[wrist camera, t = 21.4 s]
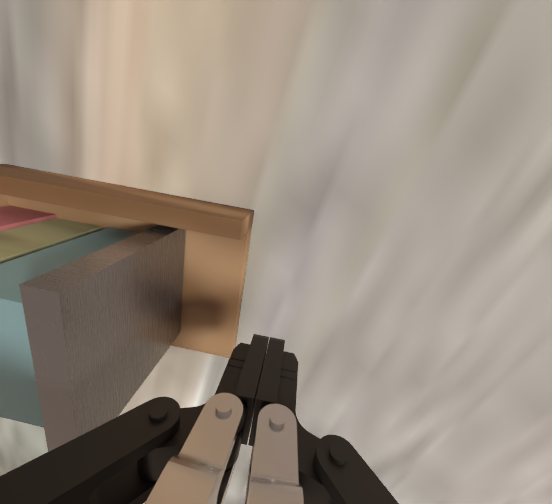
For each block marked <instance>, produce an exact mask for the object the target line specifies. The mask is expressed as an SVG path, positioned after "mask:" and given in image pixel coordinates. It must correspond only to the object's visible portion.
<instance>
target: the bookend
mask: <svg viewBox="0 0 552 504" xmlns="http://www.w3.org/2000/svg"><path fill="white" fill-rule="evenodd" d="M185 236H186V230H185V229H179V228H174V227H169V226H164V225H156V226H154V227H152V228H149V229H147V230H145V231H142V232H140V233H138V234H135V235H133V236H131V237H128V238H126V239H124V240H121V241H119V242H117V243H114V244H112V245H110V246H107V247H105V248H103V249H100V250H98V251H96V252H93V253H91V254H89V255H86V256H84V257H82V258H79V259H77V260H75V261H72V262H70V263H68V264H65V265H63V266H61V267H58V268H56V269H54V270H51V271H49V272H47V273H44V274H42V275H40V276H37V277H35V278H33V279H30V280H28V281H26V282H23V283H21V284H19V287H20V293H21V298H22V304H23V310H24V315H25V321H26V327H27V333H28V338H29V344H30V350H31V355H32V361H33V367H34V372H35V378H36V384H37V390H38V395H39V401H40V407H41V412H42V418H43V424H44V429H45V435H46V441H47V447H48V452H49V451H51V450H53V449H55V448H57V447H59V446H61V445H63V444H65V443H67V442H69V441H71V440H73V439H75V438H77V437H79V436H81V435H83V434H85V433H87V432H89V431H91V430H93V429H95V428H96V427H98V426H100V425H102V424H104V423H106V422H108V421H110V420H112V419H114V418H116V417H118V415H119V414H120V413H121V411H122V410H123V409H124V407H125V406H126V405H127V403H128V402H129V401H130V399H131V398H132V397H133V395H134V394H135V393H136V391H137V390H138V389H139V387H140V386H141V385H142V383H143V382H144V381H145V379H146V378H147V377H148V375H149V374H150V372H151V371H152V370H153V368H154V367H155V366H156V364H157V363H158V362H159V360H160V359H161V358H162V356H163V355H164V354H165V352H166V351H167V350H168V348H169V347H170V346H171V344H172V343H173V342H174V340H175V339H176V338H177V336H178V335H179V334H180V331H181V312H182V293H183V274H184V255H185Z"/></svg>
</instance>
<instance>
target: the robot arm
mask: <svg viewBox="0 0 552 504" xmlns="http://www.w3.org/2000/svg"><path fill="white" fill-rule="evenodd" d="M268 339H269V337H266V336H261V335H256V334H254V335H253V338H252V341H251V344H250V345H249V344H244V343H240V344H239V345H238V346H236V347H235V348H234V349H233V351H232V354H231V356H230V359H229V361H228V364H227V366H226V369H225V371H224V374H223V376H222V378H221V381H220V383H219V386H218V388H217V391H216V393H215V395H214V396H212V397H211V398H209V400H208V401H207V402H206V403H205V404H203V405H201V406H197V407H190V408H180V406H179V404H178V403H177V401H175V400H174V399H172V398H169V397H158V398H154V399H152V400H150V401H148V402H146V403H144V404H142V405H140V406H138V407H136V408H134V409H132V410H130V411H128V412H126V413H124V414H122V415H120V416H118V417H116V418H114V419H112V420H110V421H108V422H106V423H104V424H102V425H100V426H98V427H96V428H95V429H93V430H91V431H89V432H87V433H85V434H83V435H81V436H79V437H77V438H75V439H73V440H71V441H69V442H67V443H65V444H63V445H61V446H59V447H57V448H55V449H53V450H51V451H49V452H47V453H45V454H43V455H41V456H39V457H38V458H36V459H34V460H32V461H30V462H28V463H26V464H24V465H22V466H20V467H18V468H16V469H14V470H12V471H10V472H8V473H6V474H4V475H2V476H0V504H143V503H144V502H145V504H223V501H224V498H225V495H226V492H227V489H228V486H229V483H230V480H231V476H232V473H233V470H234V467H235V462H236V460H237V458H238V455H239V450H240V446H241V444H245V445H247V441H248V437H249V432H250V428H251V433H250V439H249V445H250V446H253V448H252V454H251V460H250V466H249V472H248V480H247V488H246V496H245V503H244V504H399V503H398V502H397V501H396V500H395V498H394V497H393V496H392V495H391V493H390V492H389V491H388V490H387V489H386V487H385V486H384V485H383V484H382V482H381V481H380V480H379V479H378V477H377V476H376V475H375V474H374V472H373V471H372V470H371V469H370V467H369V466H368V465H367V464H366V462H365V461H364V460H363V459H362V457H361V456H360V455H359V454H358V452H357V451H356V450H355V449H354V447H353V446H352V445H351V444H350V443H349V442H348V441H347V440H345V439H344V438H342V437H340V436H337V435H326V436H324V437H322V438H321V439H320V438H318V437H316V436H314V435H313V434H311V433H309V432H308V431H306V430H305V429H304V428H303V427H302V426H301V424H300V423H299V421H298V419H297V417H296V412H295V408H296V390H297V372H298V361H297V359H296V357H295V355H294V354H293V353H289V352H284V351H283V350H284V343H285V340H281V339H276V338H271V337H270V340H269V344H268ZM267 345H268V348H267ZM266 351H267V353H266ZM253 414H254V415H253ZM252 419H253V421H252ZM251 423H252V427H251Z"/></svg>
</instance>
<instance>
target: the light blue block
mask: <svg viewBox="0 0 552 504" xmlns="http://www.w3.org/2000/svg"><path fill="white" fill-rule="evenodd" d="M135 234H138V232H133V231H128V230H124V229H119V228H114V227H109V228H106V229H103V230H100V231H97V232H94V233H91V234H88V235H85V236H82V237H79V238H76V239H73V240H70V241H67V242H64V243H61V244H58V245H55V246H52V247H49V248H46V249H43V250H40V251H37V252H35V253H32V254H29V255H26V256H23V257H20V258H17V259H14V260H11V261H8V262H5V263H2V264H0V417H4V418H8V419H12V420H16V421H20V422H24V423H28V424H32V425H36V426H40V427H44V424H43V418H42V412H41V407H40V401H39V395H38V390H37V384H36V378H35V372H34V367H33V361H32V355H31V350H30V344H29V338H28V333H27V327H26V321H25V315H24V310H23V304H22V298H21V293H20V287H19V284H21V283H23V282H26V281H28V280H30V279H33V278H35V277H37V276H40V275H42V274H44V273H47V272H49V271H51V270H54V269H56V268H58V267H61V266H63V265H65V264H68V263H70V262H72V261H75V260H77V259H79V258H82V257H84V256H86V255H89V254H91V253H93V252H96V251H98V250H100V249H103V248H105V247H107V246H110V245H112V244H114V243H117V242H119V241H121V240H124V239H126V238H128V237H131V236H133V235H135Z"/></svg>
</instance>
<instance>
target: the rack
mask: <svg viewBox="0 0 552 504" xmlns="http://www.w3.org/2000/svg"><path fill="white" fill-rule="evenodd" d="M253 214H254V210H250V209H244V208H239V207H234V206H228V205H223V204H217V203H212V202H207V201H201V200H196V199H191V198H185V197H180V196H174V195H169V194H164V193H158V192H153V191H148V190H142V189H137V188H131V187H126V186H121V185H115V184H110V183H105V182H99V181H94V180H88V179H83V178H78V177H72V176H67V175H62V174H56V173H51V172H45V171H40V170H35V169H29V168H24V167H19V166H13V165H8V164H0V264H2V263H5V262H8V261H11V260H14V259H17V258H20V257H23V256H26V255H29V254H32V253H35V252H37V251H40V250H43V249H46V248H49V247H52V246H55V245H58V244H61V243H64V242H67V241H70V240H73V239H76V238H79V237H82V236H85V235H88V234H91V233H94V232H97V231H100V230H103V229H106V228H109V227H114V228H119V229H124V230H128V231H133V232H138V233H140V232H142V231H145V230H147V229H149V228H152V227H154V226H156V225H164V226H169V227H174V228H179V229H185V230H186V236H185V255H184V274H183V293H182V312H181V331H180V334H179V335H178V336H177V338H176V339H175V340H174V342H173V343H172V344H171V345H172V346H177V347H182V348H186V349H191V350H195V351H200V352H205V353H209V354H214V355H218V356H223V357H228V358H230V356H231V354H232V351H233V349H234V348H235V346H236V338H237V331H238V324H239V316H240V309H241V302H242V295H243V287H244V280H245V273H246V265H247V258H248V251H249V243H250V236H251V229H252V222H253Z"/></svg>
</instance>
